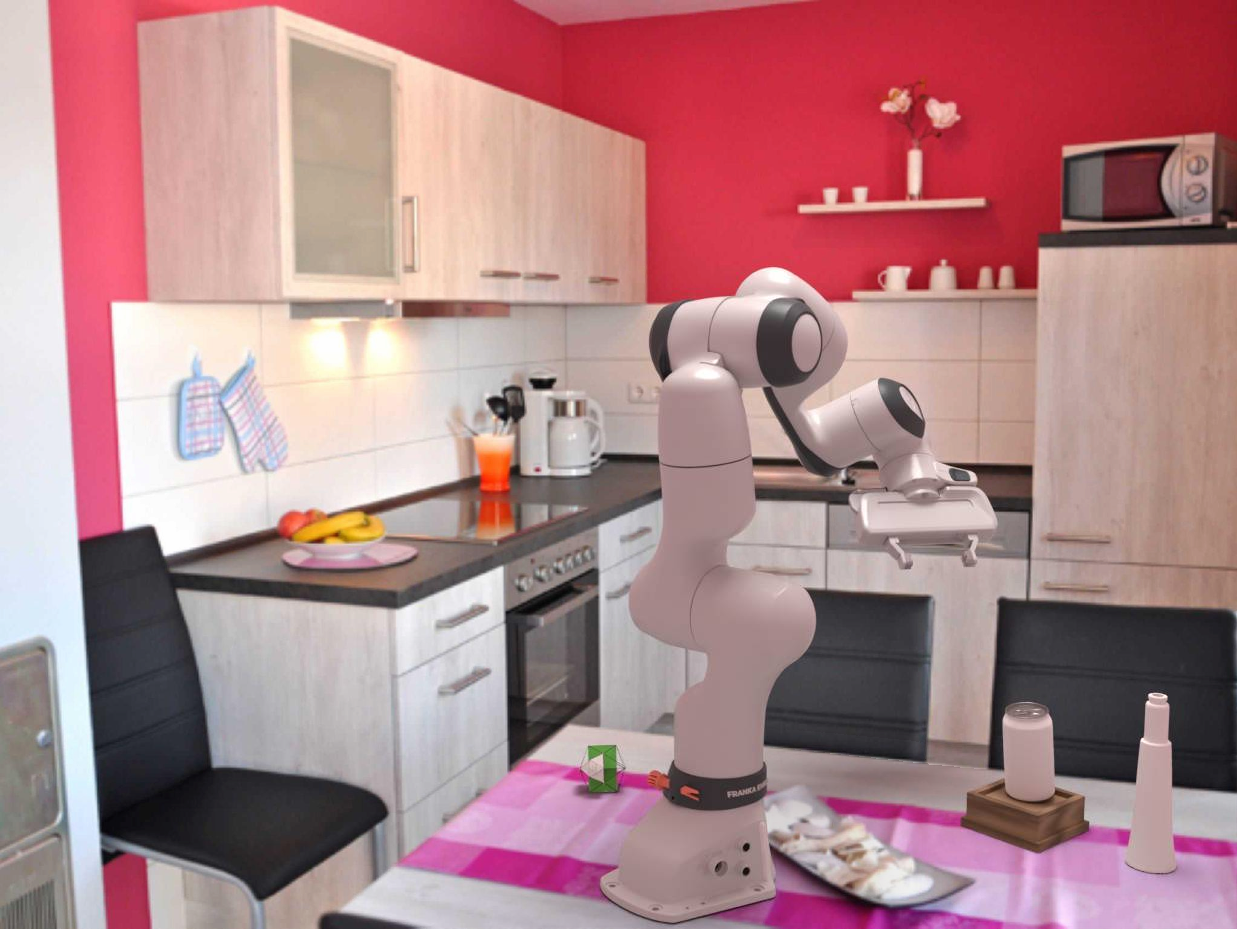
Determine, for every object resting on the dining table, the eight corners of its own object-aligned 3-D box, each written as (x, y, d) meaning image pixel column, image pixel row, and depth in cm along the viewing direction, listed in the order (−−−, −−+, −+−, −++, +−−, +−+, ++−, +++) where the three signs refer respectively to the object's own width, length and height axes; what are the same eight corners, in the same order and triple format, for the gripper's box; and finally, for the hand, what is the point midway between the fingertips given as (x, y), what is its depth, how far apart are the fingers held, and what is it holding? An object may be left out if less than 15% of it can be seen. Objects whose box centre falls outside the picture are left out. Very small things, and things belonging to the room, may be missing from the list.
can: (1059, 802, 175) (1056, 718, 173) (1009, 804, 176) (1006, 720, 174) (1049, 781, 182) (1046, 699, 179) (1001, 783, 182) (998, 702, 180)
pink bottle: (1114, 858, 168) (1121, 691, 165) (1151, 851, 170) (1159, 686, 168) (1148, 877, 162) (1156, 704, 160) (1187, 869, 164) (1195, 699, 162)
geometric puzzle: (578, 763, 198) (578, 732, 192) (623, 762, 198) (625, 731, 193) (579, 805, 193) (580, 775, 187) (626, 804, 193) (628, 773, 188)
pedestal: (1037, 853, 170) (1039, 818, 169) (960, 825, 179) (961, 792, 178) (1089, 829, 177) (1090, 796, 177) (1012, 804, 186) (1013, 772, 186)
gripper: (850, 476, 187) (873, 555, 179) (985, 472, 191) (1014, 550, 182) (840, 502, 192) (861, 581, 184) (972, 498, 196) (999, 575, 187)
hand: (939, 566), depth 183 cm, fingers open, 8 cm apart
